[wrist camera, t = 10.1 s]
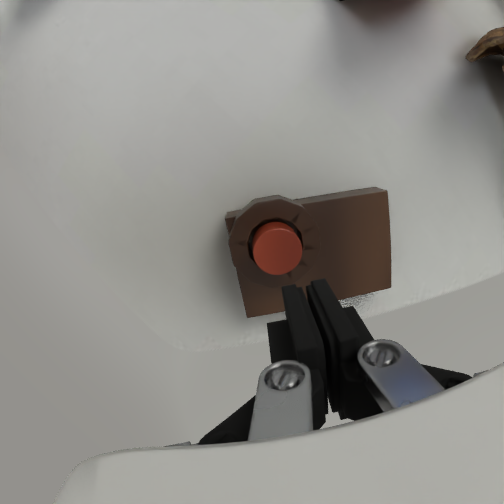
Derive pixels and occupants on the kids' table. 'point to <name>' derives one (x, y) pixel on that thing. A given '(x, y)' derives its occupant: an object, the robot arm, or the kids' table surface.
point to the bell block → (316, 245)
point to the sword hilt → (488, 45)
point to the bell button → (276, 248)
